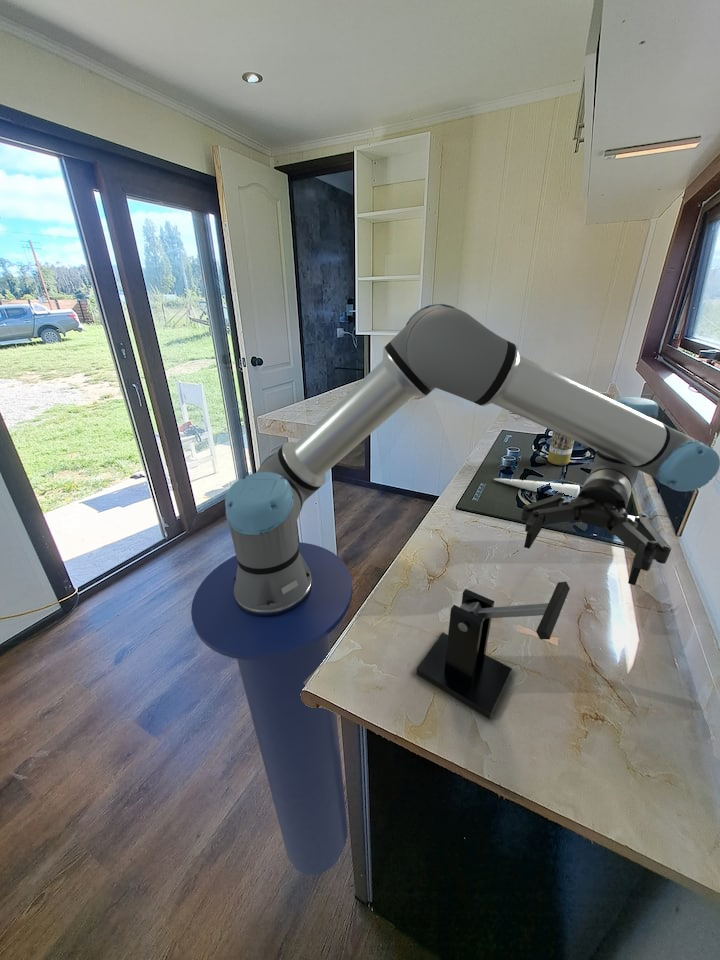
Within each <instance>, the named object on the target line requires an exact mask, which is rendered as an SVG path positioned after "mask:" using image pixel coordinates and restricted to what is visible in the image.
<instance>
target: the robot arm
mask: <svg viewBox="0 0 720 960" xmlns="http://www.w3.org/2000/svg"><path fill="white" fill-rule="evenodd" d="M382 349H383V350H382V360H381V362H380V363H379V364H377V365H376V366H375V367H374V368H373V369H372V370H371V371H370V372H369V373H368V374H367V375H366V376H365V377H364V378H363V379H361V381H359V382H358V383H357V385H355V387H353V388H352V389H351V390H349V392H348V393H347V394H346V395H345V396H344V397H343V398H342V399H341V400H340V401H339V402H338V403H337V404H335V405H334V406H333V407H332V408H331V409H330V410H329V411H328V412H327V413H326V414H325V415H324V416H323V417H322V418H321V419H320V420H318V422H317V423H316V424H315V425H313V427H312V428H310V429H309V430H308V431H307V432H306V433H305V434H303V436H302V437H301V438H300V439H299V440H298V441H295V442H294V441H286V442H285V443H284V444H283V445H282V446H281V447H280V448H279V449H278V450H276V451H275V452H273V453H271V454H270V455H268V456H267V457H265V459H264V460H263V461H262V462H261V464H260V465H259V468H258V470H257V471H256V472H254V473H251V474H247V475H246V476H245V477H244V478H239V479H238V480H236V481H235V482H234V483H233V484H232V485H231V486H230V487H229V488H228V490H227V492H226V494H225V497H224V498H225V499H224V505H225V517H226V520H227V523H228V528H229V531H230V535H231V540H232V545H233V548H234V552H235V555H236V558H237V562H238V568H237V574H236V577H234V580H235V584H234V595H235V600H236V603H237V605H238V606H239V608H240V609H241V610H242V611H244V612H245V613H247V614H250V615H252V616H257V617H273V616H278V615H282V614H285V613H288V612H290V611H292V610H294V609H295V608H297V607H298V606H300V605H301V604H302V603H303V602H304V601H305V600H306V599H307V598H308V596H309V594H310V592H311V590H312V576H311V572H310V570H309V568H308V566H307V564H306V563H305V561H304V559H303V557H302V556H301V554H300V552H299V546H298V542H299V538H298V530H297V523H298V519H299V517H300V514H301V512H302V508H303V506H304V503H305V502H306V501H307V500H308V499H309V498H310V497H312V495H314V494H315V493H316V492H317V491H318V490H319V489H321V487H323V485H325V483H326V479H327V478H326V474H327V472H329V471H330V470H331V469H332V468H333V467H335V465H336V464H338V463H339V462H340V461H341V460H342V459H343V458H345V457H346V456H347V455H348V454H349V453H351V451H353V450H354V449H355V448H356V447H358V445H359V444H360V443H361V442H363V441H364V440H365V439H366V438H367V437H369V436H370V435H371V434H372V433H373V432H374V431H376V429H378V428H379V427H380V426H381V425H382V424H383V423H385V421H386V420H388V419H389V418H390V417H392V415H394V414H395V413H396V412H397V411H398V410H399V409H401V408H402V407H403V406H404V405H405V404H406V403H407V402H408V401H410V400H411V399H412V398H414V397H422V398H423V397H424V398H425V397H427V396H428V395H430V393H431V392H433V390H435V389H438V390H441V391H443V392H446V393H448V394H451V395H453V396H456V397H459V398H462V399H464V400H467V401H469V402H471V403H474V404H476V405H478V406H481V407H485V406H488V405H491V404H492V405H495V406H497V407H499V408H502V409H504V410H506V411H509V412H511V413H513V414H514V415H517V416H520V417H521V418H524V419H526V420H528V421H531V422H532V423H534V424H537V425H539V426H542V427H544V428H546V429H548V430H551V431H552V432H553V431H555V432H557V433H559V434H562V435H564V436H566V437H568V438H570V439H573V440H574V442H577V443H580V444H581V445H584V446H586V447H589V448H590V449H593V450H595V451H596V452H595V455H594V459H593V462H592V467H591V471H590V472H589V475H588V477H587V479H586V480H585V481H584V483H583V485H582V487H581V488H580V492H579V494H578V496H577V498H575V499H572V500H570V499H566V498H564V497H563V496H564V494H563V493H561V492H557V493H556V494H555V495H554V496H548V497H546V498H543V499H540V500H537V501H534V502H530V503H527V504H525V505H523V506H522V510H521V511H522V512H521V515H520V519H521V521H524V522H526V524H525V526H524V527H525V528H524V531H525V532H526V536H525V540H524V545H523V548H526V549H529V550H530V549H531V547H532V545H533V543H534V542H535V540H536V539H537V537H538V535H539V534H540V533H541V531H542V528H543V526H547V525H554V524H560V523H561V524H562V523H567V522H568V523H569V524H575V523H583V524H586V525H592V526H594V527H597V528H600V529H604V530H605V531H607V532H608V534H610V535H611V536H615V537H617V539H619V540H620V541H621V542H622V543H623V544H624V545H626V547H628V549H630V550H631V551H632V552H633V553H634V556H633V560H632V564H631V569H630V574H629V578H628V581H627V584H629V585H632V586H635V585H636V583H637V581H638V578H639V575H640V573H641V570H643V571H645V572H648V571H649V570H650V569H651V566H652V564H653V561H654V560H655V561H656V562H657V563H658V564H665V565H666V563H667V561H668V559H669V556H670V554H671V551H672V546H670V544H669V543H667V541H666V540H665V539H664V538H663V536H662V535H661V534H660V533H659V532H658V530H657V529H656V528H655V527H654V526H653V525H652V523H651V522H650V520H649V515H647V513H646V514H645V513H639V514H638V516H637V515H636V516H634V515H630V514H629V513H628V512H627V509H628V504H629V501H630V498H631V494H632V490H633V488H634V485H635V483H636V481H637V478H638V475H639V471H640V472H642V473H645V474H647V475H649V476H651V477H652V478H654V479H656V480H657V482H658V483H659V484H661V485H664V486H666V487H668V488H670V489H671V490H674V491H677V492H692V491H696V490H698V489H700V488H702V487H704V486H706V485H707V484H709V483H710V481H711V480H713V478H714V477H716V475H717V474H718V472H719V469H720V456H719V454H718V453H717V451H716V450H714V449H713V448H712V447H710V446H708V445H707V444H706V443H705V442H703V441H700V440H698V439H695V438H693V437H691V436H689V435H688V434H685V433H683V432H681V431H679V430H676V429H675V428H672V427H671V426H669V425H667V424H665V423H663V422H662V421H659V420H657V419H658V416H659V415H658V413H659V409H660V406H659V404H658V403H657V402H656V401H654V400H652V399H648V398H645V397H644V398H643V397H637V396H636V397H635V396H621V397H617V398H614V399H612V398H609V397H608V396H605V395H603V394H602V393H599V392H597V391H596V390H593V389H591V388H589V387H587V386H585V385H583V384H580V383H579V382H577V381H574V380H572V379H570V378H568V377H566V376H565V375H563V374H560V373H558V372H556V371H553V370H552V369H549V368H548V367H545V366H543V365H541V364H540V363H537V362H535V361H534V360H533V361H532V360H530V359H528V358H527V357H525V356H522V355H520V353H519V348H518V345H517V344H516V343H514V342H511V341H509V340H507V339H506V338H503V336H500V335H498V334H496V333H495V332H494V331H492V330H490V328H487V326H485V325H483V323H481V322H479V320H477V319H476V318H474V317H473V316H472V315H471V314H469V313H468V312H466V311H463V310H461V309H458V308H456V307H455V306H453V305H449V304H446V303H432V304H429V305H427V306H424V307H422V308H420V309H418V310H417V311H415V312H414V313H413V314H412V315H411V316H410V317H409V319H408V321H407V322H406V324H405V326H404V327H403V328H402V329H401V330H400V331H399V332H398V333H397V334H396V335H395V336H394V337H393V338H392V339H391V340H390V341H389V342H388V343H387V344H386V345H385V346H384V347H382Z"/></svg>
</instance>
